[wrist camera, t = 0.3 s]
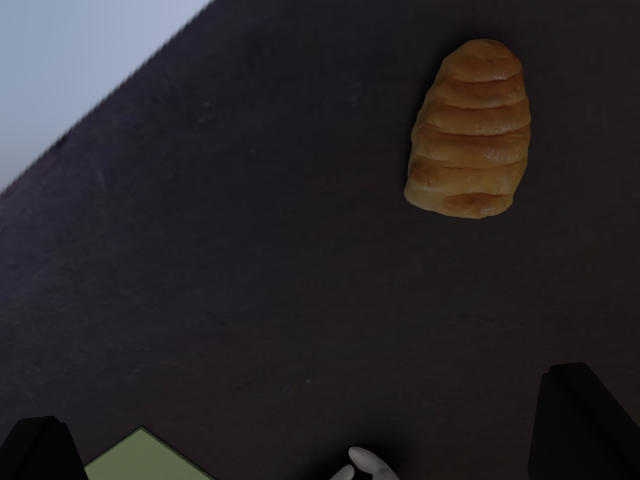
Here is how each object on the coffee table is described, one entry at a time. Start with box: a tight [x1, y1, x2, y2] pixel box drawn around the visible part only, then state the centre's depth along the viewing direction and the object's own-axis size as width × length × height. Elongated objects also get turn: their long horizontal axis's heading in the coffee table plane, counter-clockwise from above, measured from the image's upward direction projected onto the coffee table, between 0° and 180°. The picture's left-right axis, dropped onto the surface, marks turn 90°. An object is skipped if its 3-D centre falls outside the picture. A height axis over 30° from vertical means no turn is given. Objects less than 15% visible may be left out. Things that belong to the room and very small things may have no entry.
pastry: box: [404, 39, 531, 218], centre depth 27 cm, size 9×7×4 cm
